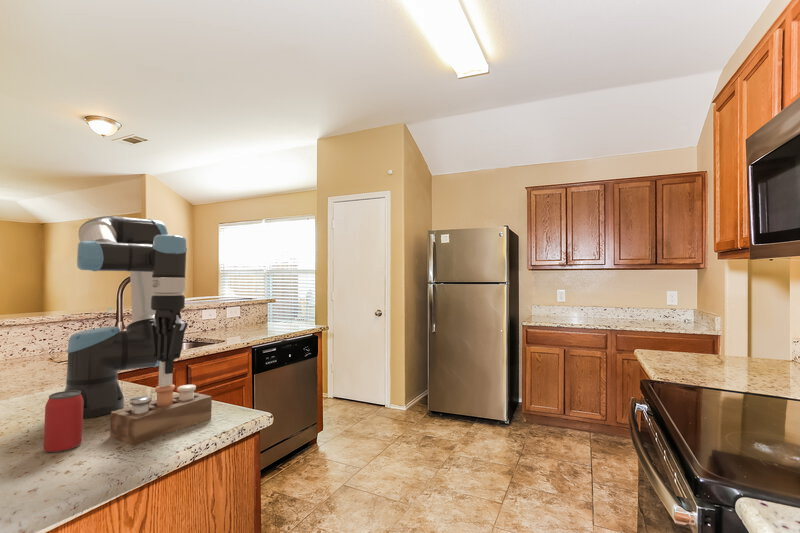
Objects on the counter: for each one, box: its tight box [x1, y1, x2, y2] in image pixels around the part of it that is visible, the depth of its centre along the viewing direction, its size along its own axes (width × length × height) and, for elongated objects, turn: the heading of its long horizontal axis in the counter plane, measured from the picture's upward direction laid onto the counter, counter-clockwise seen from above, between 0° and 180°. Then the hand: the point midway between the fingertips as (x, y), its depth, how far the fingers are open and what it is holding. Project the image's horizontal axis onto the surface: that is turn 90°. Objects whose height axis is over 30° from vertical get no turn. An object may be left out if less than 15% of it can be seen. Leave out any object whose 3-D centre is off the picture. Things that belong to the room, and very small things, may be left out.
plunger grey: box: [129, 395, 153, 415], centre depth 95 cm, size 4×4×7 cm
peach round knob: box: [154, 384, 176, 408], centre depth 101 cm, size 4×4×7 cm
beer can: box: [42, 390, 84, 453], centre depth 88 cm, size 7×7×12 cm
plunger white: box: [177, 384, 197, 401], centre depth 106 cm, size 4×4×7 cm
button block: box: [109, 392, 213, 446], centre depth 101 cm, size 10×20×6 cm, turn 154°
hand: (165, 385), depth 101 cm, fingers closed
